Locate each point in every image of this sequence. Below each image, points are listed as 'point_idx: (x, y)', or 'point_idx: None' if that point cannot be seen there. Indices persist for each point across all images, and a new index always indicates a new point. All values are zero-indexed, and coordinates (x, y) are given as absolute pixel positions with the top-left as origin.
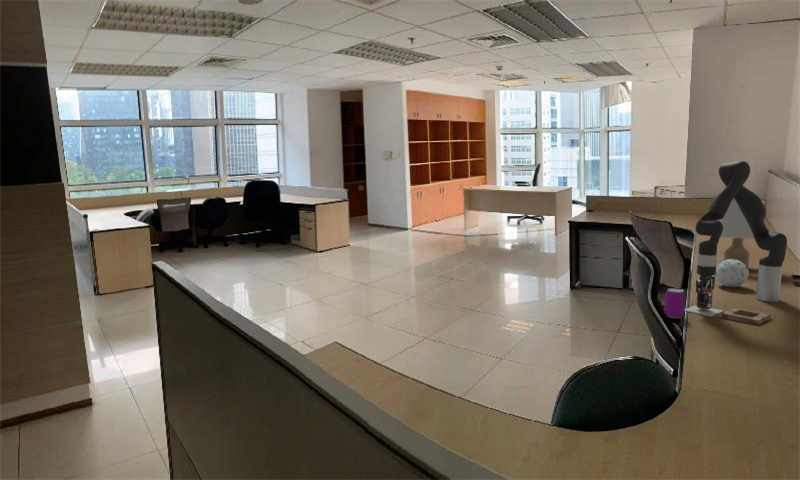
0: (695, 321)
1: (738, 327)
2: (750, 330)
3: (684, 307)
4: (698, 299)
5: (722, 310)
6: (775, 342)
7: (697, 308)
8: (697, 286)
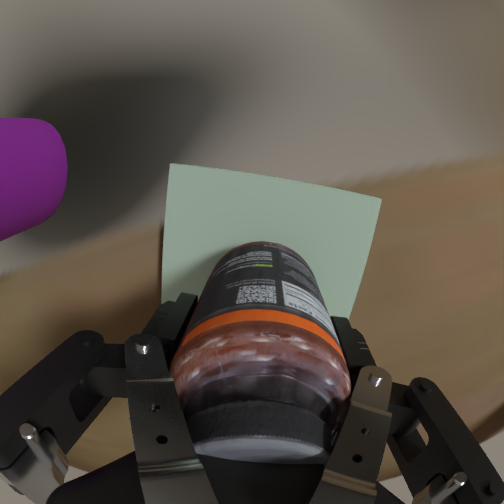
0: (39, 285)
1: (108, 418)
2: (111, 438)
3: (8, 237)
4: (178, 298)
5: None
6: (78, 456)
7: (281, 234)
8: (27, 392)
